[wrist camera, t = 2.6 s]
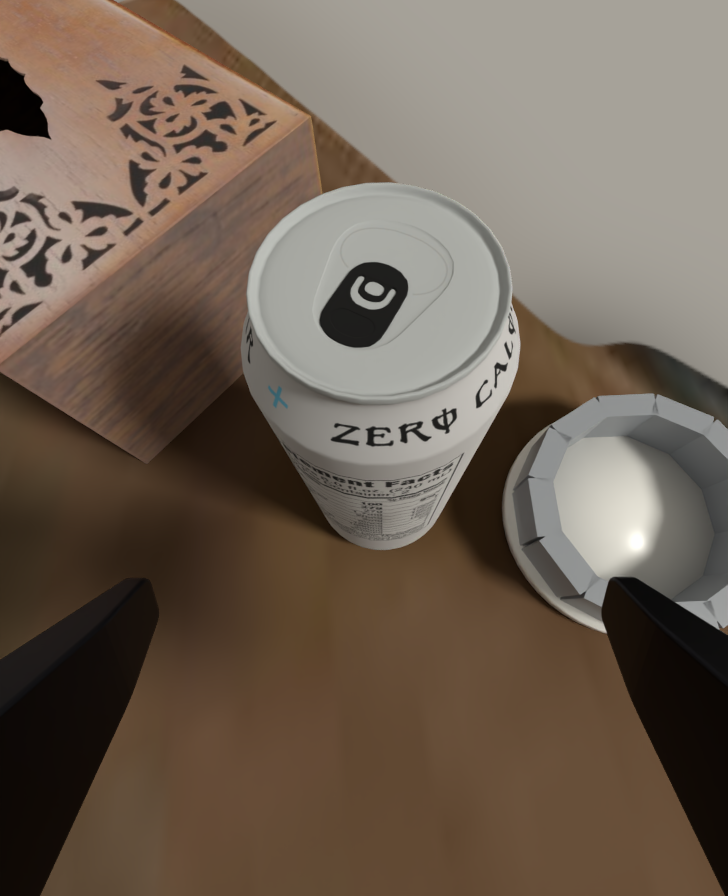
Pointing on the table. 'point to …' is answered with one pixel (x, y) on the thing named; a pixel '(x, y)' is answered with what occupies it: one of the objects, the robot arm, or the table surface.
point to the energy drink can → (380, 351)
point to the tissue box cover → (132, 214)
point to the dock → (623, 506)
